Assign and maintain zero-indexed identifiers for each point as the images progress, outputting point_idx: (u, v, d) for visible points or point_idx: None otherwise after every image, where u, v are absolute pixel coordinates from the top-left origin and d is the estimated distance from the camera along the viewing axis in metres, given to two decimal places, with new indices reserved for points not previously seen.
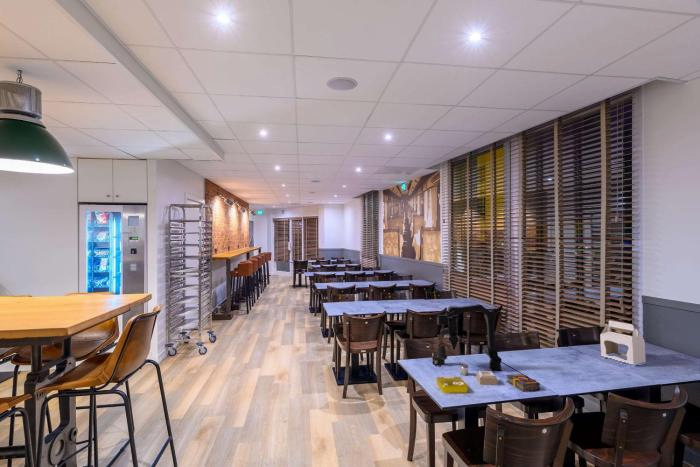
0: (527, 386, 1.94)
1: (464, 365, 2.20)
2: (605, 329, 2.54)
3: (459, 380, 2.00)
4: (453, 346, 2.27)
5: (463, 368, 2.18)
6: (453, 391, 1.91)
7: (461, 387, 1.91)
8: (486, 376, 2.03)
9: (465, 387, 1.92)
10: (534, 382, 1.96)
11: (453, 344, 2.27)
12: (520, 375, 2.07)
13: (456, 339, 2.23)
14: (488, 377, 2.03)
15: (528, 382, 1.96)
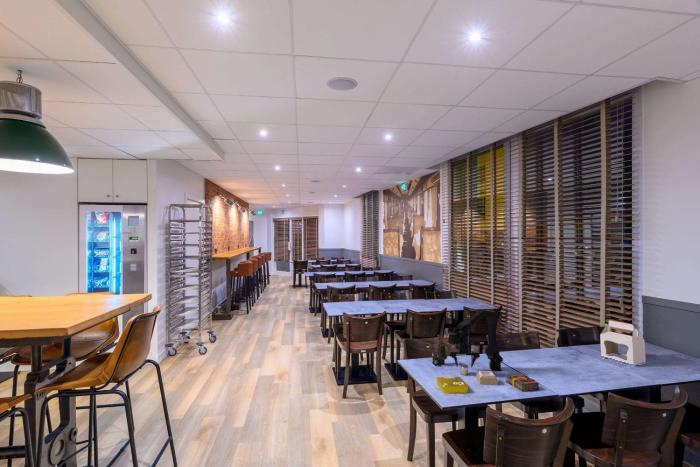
0: (526, 386, 1.94)
1: (464, 365, 2.20)
2: (605, 329, 2.54)
3: (459, 380, 1.99)
4: None
5: (463, 368, 2.18)
6: (453, 391, 1.91)
7: (461, 387, 1.91)
8: (486, 376, 2.03)
9: (465, 387, 1.91)
10: (533, 382, 1.96)
11: (455, 361, 2.21)
12: (519, 375, 2.07)
13: (450, 355, 2.20)
14: (488, 377, 2.03)
15: (527, 381, 1.97)
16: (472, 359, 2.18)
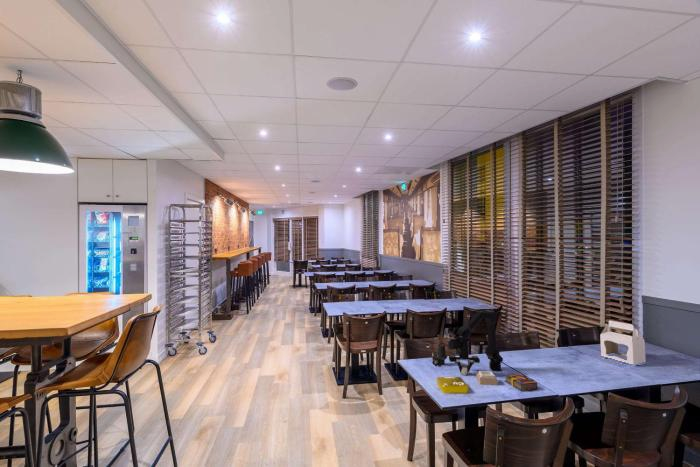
0: (525, 386, 1.94)
1: (464, 365, 2.20)
2: (605, 329, 2.54)
3: (460, 380, 1.99)
4: (459, 368, 2.21)
5: (463, 368, 2.18)
6: (453, 391, 1.91)
7: (461, 387, 1.91)
8: (486, 376, 2.03)
9: (465, 387, 1.91)
10: (532, 382, 1.96)
11: (458, 366, 2.21)
12: (518, 375, 2.08)
13: (450, 360, 2.20)
14: (488, 377, 2.03)
15: (526, 381, 1.97)
16: (469, 364, 2.18)
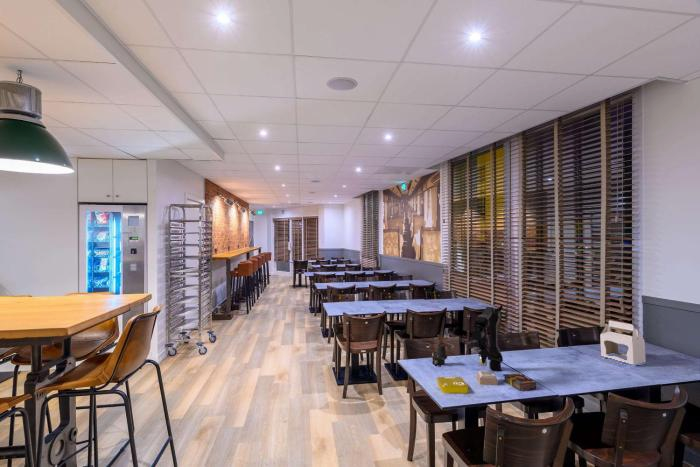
0: (524, 385, 1.95)
1: None
2: (605, 329, 2.54)
3: (460, 381, 1.99)
4: (483, 360, 2.06)
5: None
6: (453, 391, 1.91)
7: (461, 387, 1.91)
8: (486, 376, 2.03)
9: (465, 387, 1.91)
10: (531, 381, 1.97)
11: (483, 357, 2.06)
12: (517, 374, 2.08)
13: (487, 353, 2.00)
14: (488, 377, 2.03)
15: (525, 381, 1.98)
16: None
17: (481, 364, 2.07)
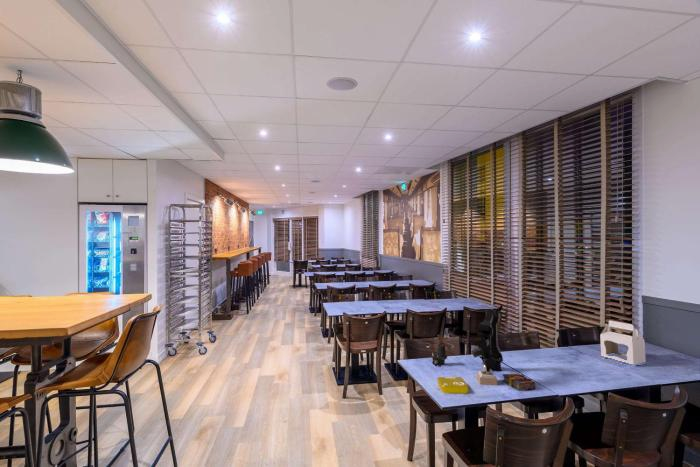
0: (523, 385, 1.95)
1: None
2: (605, 329, 2.54)
3: (460, 381, 1.99)
4: (487, 368, 2.04)
5: None
6: (453, 391, 1.91)
7: (461, 387, 1.91)
8: (486, 376, 2.03)
9: (465, 387, 1.91)
10: (530, 381, 1.97)
11: (488, 366, 2.04)
12: (516, 374, 2.08)
13: (494, 362, 1.98)
14: (488, 377, 2.03)
15: (524, 381, 1.98)
16: None
17: (485, 373, 2.05)
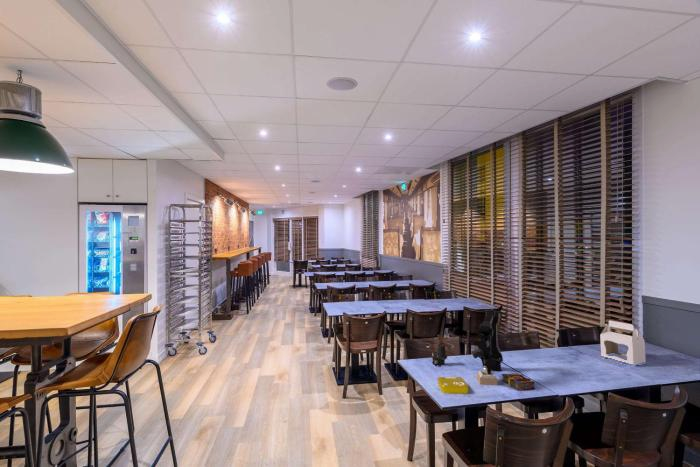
0: (522, 385, 1.95)
1: None
2: (605, 329, 2.54)
3: (460, 381, 1.99)
4: (488, 370, 2.02)
5: None
6: (453, 391, 1.91)
7: (461, 387, 1.91)
8: (486, 376, 2.03)
9: (465, 388, 1.91)
10: (529, 381, 1.97)
11: (489, 368, 2.02)
12: (515, 374, 2.09)
13: (494, 363, 1.98)
14: (488, 377, 2.03)
15: (523, 381, 1.98)
16: None
17: None
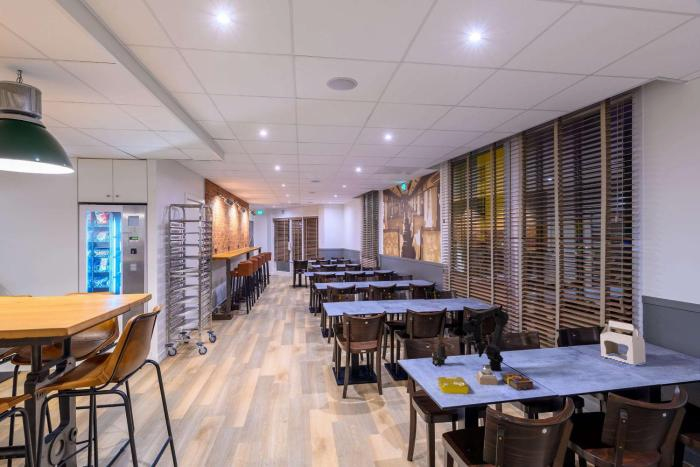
0: (521, 385, 1.96)
1: (487, 365, 2.07)
2: (605, 329, 2.54)
3: (460, 381, 1.99)
4: (480, 353, 2.17)
5: (490, 368, 2.06)
6: (453, 391, 1.91)
7: (461, 388, 1.91)
8: (486, 376, 2.03)
9: (465, 388, 1.90)
10: (528, 381, 1.98)
11: (480, 351, 2.16)
12: (514, 374, 2.09)
13: (484, 346, 2.13)
14: (488, 377, 2.03)
15: (522, 380, 1.98)
16: None
17: None
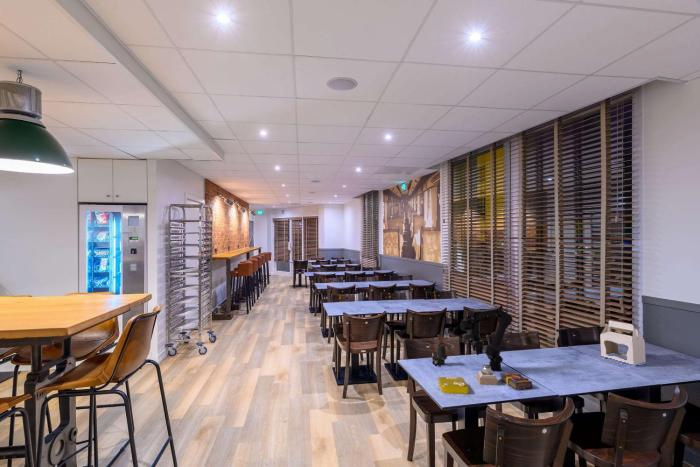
0: (519, 385, 1.96)
1: (487, 365, 2.07)
2: (605, 329, 2.54)
3: (461, 381, 1.98)
4: (477, 351, 2.20)
5: (490, 368, 2.06)
6: (453, 391, 1.91)
7: (461, 388, 1.90)
8: (486, 376, 2.03)
9: (465, 388, 1.90)
10: (526, 381, 1.98)
11: (477, 349, 2.20)
12: (513, 374, 2.09)
13: (482, 344, 2.16)
14: (488, 377, 2.03)
15: (521, 380, 1.99)
16: None
17: None
